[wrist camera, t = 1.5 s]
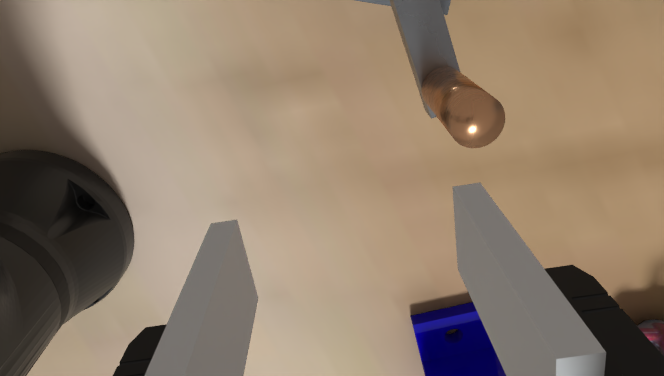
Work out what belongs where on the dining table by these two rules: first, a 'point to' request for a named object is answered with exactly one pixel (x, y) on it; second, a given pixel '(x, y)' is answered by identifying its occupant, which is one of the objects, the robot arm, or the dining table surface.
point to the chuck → (445, 76)
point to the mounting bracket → (455, 343)
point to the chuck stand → (444, 4)
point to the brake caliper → (654, 332)
